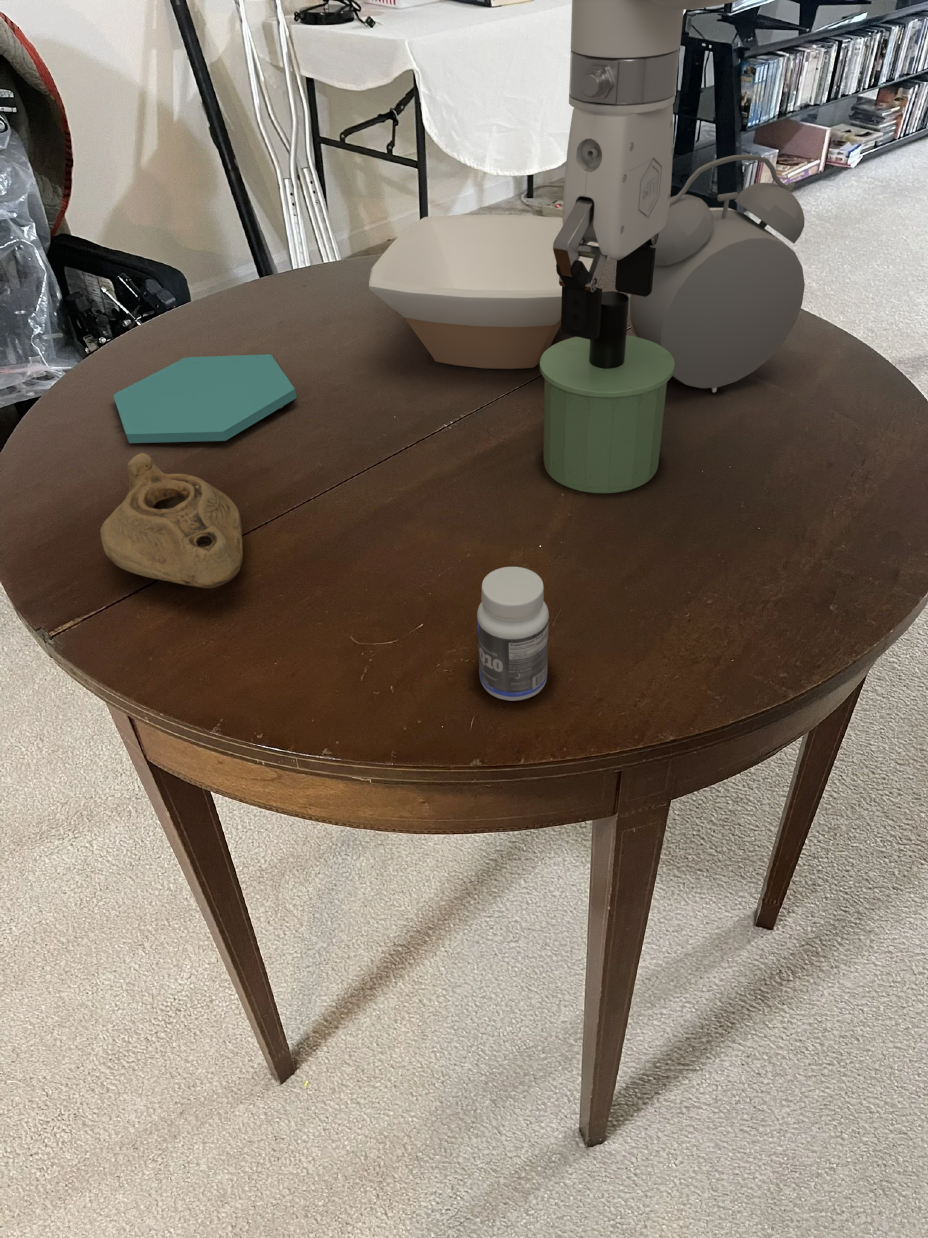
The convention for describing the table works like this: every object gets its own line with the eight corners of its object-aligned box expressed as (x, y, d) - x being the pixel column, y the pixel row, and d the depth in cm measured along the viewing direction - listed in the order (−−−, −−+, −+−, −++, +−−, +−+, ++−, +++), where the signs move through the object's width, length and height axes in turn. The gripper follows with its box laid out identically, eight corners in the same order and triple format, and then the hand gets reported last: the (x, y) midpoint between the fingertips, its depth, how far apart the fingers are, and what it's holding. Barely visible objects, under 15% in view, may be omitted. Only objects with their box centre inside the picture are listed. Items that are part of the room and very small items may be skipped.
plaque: (84, 452, 93) (275, 449, 90) (77, 434, 92) (271, 431, 89) (149, 373, 106) (318, 368, 103) (144, 356, 105) (314, 351, 102)
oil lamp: (193, 638, 69) (166, 552, 64) (84, 564, 77) (52, 482, 72) (303, 568, 75) (286, 484, 70) (191, 506, 83) (169, 426, 78)
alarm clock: (750, 352, 102) (786, 132, 88) (795, 385, 96) (842, 154, 81) (613, 379, 98) (628, 154, 84) (651, 415, 92) (674, 179, 78)
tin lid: (578, 335, 86) (580, 264, 82) (694, 360, 81) (703, 285, 77) (515, 385, 79) (514, 309, 75) (638, 416, 74) (645, 337, 70)
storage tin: (576, 425, 91) (580, 332, 85) (675, 451, 87) (687, 355, 81) (523, 474, 85) (523, 377, 79) (627, 505, 80) (636, 405, 74)
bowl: (362, 386, 100) (350, 288, 93) (423, 298, 118) (417, 210, 111) (582, 401, 95) (587, 299, 88) (611, 307, 113) (616, 216, 106)
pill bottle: (468, 667, 66) (463, 573, 60) (528, 648, 67) (528, 554, 61) (497, 711, 62) (494, 616, 57) (559, 690, 64) (562, 594, 58)
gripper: (616, 111, 59) (600, 364, 70) (719, 59, 69) (691, 285, 81) (514, 100, 62) (514, 343, 73) (627, 52, 73) (612, 271, 84)
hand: (607, 313), depth 77 cm, fingers open, 9 cm apart
